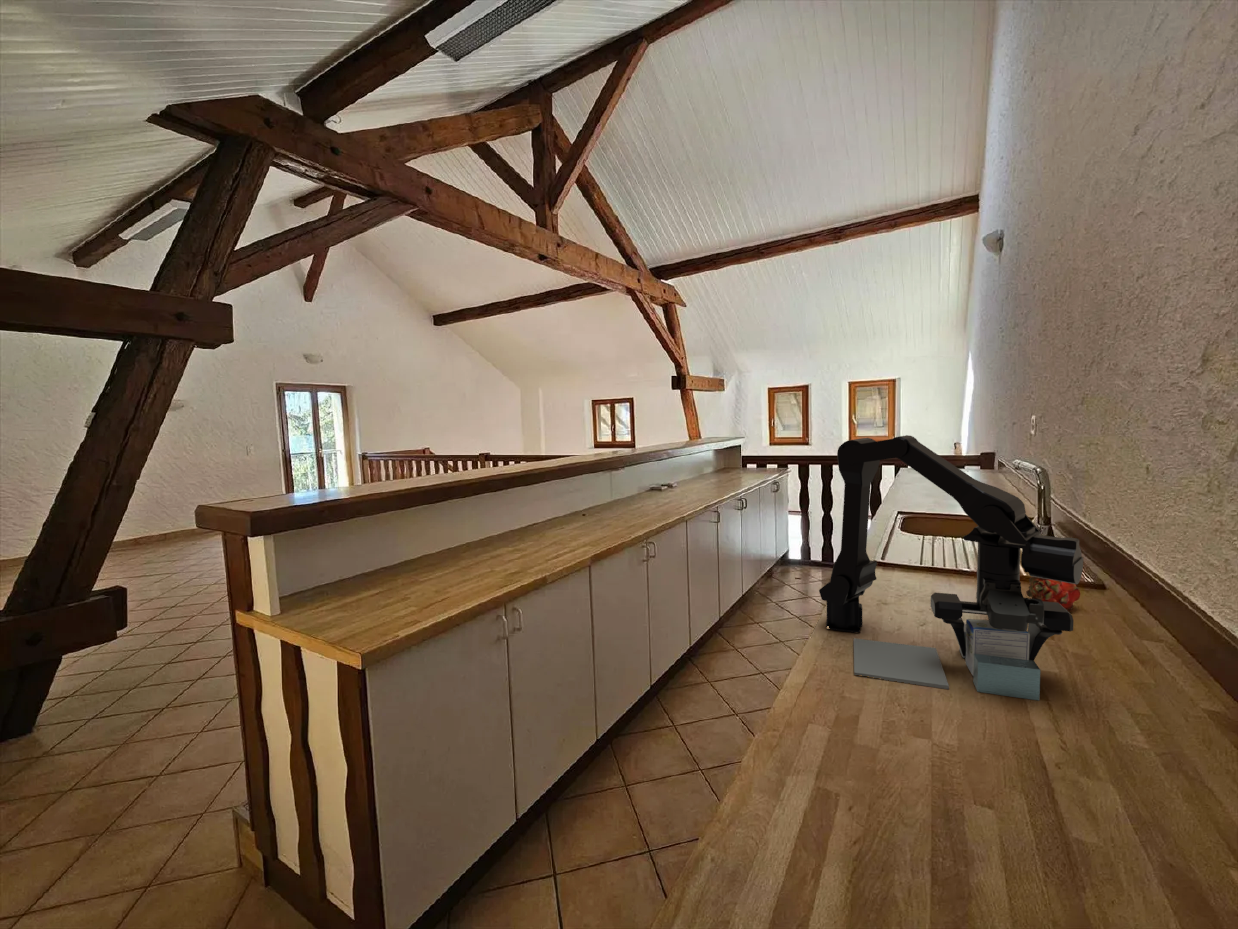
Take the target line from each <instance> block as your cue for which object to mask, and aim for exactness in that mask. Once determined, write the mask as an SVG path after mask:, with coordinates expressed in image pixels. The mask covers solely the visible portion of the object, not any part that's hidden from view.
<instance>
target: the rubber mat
mask: <svg viewBox="0 0 1238 929" xmlns="http://www.w3.org/2000/svg"><path fill="white" fill-rule="evenodd" d="M944 670H945V669H944V668H943V665H942V662H941V658H940V656H939V654H938V651H937V648H936V647H930V646H924V645H923V646H922V645H914V644H913V645H912V644H906V643H905V644H904V643H896V642H889V641H888V642H887V641H880V640H871V639H862V638H856V637H854V638H853V672H854V675H862V676H869V677H874V678H881V679H884V680H883V681H888V680H889V682H894V681H897V682H896V683H901V682H904V683H903V684H908V683H910V685H915V684H916V686H922V687H930V688H936V689H937V688H938V689H945V690H950V685H949V682H948V680H947V676H946V674H945V671H944ZM854 675H853V676H854ZM874 678H873V679H874ZM881 679H880V680H881Z"/></svg>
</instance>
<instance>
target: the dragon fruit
mask: <svg viewBox="0 0 1238 929" xmlns="http://www.w3.org/2000/svg"><path fill="white" fill-rule="evenodd" d="M1028 581H1029V586H1028V590H1026V591H1025V592H1026V595H1027V596H1028V598H1029V597H1030V598H1031V599H1041V600H1042V601H1046V602H1058V603H1059V604H1061V605H1062V606H1063V607H1064V608H1065V609H1066V610H1067V611H1068V612H1070V611H1072V610H1073V609H1074V606H1073V605H1074V603H1075V602H1077V601H1078V600H1080V598H1081V591H1080V589H1079V587H1077V584H1072V583H1066V582H1061V581H1055V580H1049V579H1044V578H1038V577H1033V576H1030V578H1029V580H1028Z"/></svg>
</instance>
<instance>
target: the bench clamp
mask: <svg viewBox="0 0 1238 929" xmlns="http://www.w3.org/2000/svg"><path fill="white" fill-rule="evenodd" d="M964 635H965V643H966V622H964ZM959 653H960V655H961V657H962V659H966V656H963V655H962V652H961V649H960V648H959ZM972 678H973V679H972V680H973V681H972V682H973V685H974V686H975V690H976V692H977V693H984V694H991V695H998V696H1005V697H1013V698H1017V699H1018V698H1019V699H1025V700H1033V701H1040V698H1041V697H1040V696H1041V695H1040V694H1041V693H1040V691H1041V668H1040V667H1039V666H1038V665H1037V663H1036V662H1035V660H1034V661H1032V660H1023V659H1015V658H1007V657H998V656H990V655H981V654H974V673H973V676H972Z"/></svg>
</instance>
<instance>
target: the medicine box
mask: <svg viewBox="0 0 1238 929" xmlns="http://www.w3.org/2000/svg"><path fill="white" fill-rule="evenodd" d="M965 624H966V658H965V665H966V667H967V669H968V670H969V673H971V675H972V677H973V673H974V654H981V655H990V656H998V657H1007V658H1015V659H1023V660H1029V639H1030V634H1029V633H1028V629H1027V630H1026V631H1017V630H1013V629H996V628H993V627H992V626H991V625H990V624H989V619H974V618H973V619H972V618H967V619H966V621H965Z"/></svg>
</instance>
